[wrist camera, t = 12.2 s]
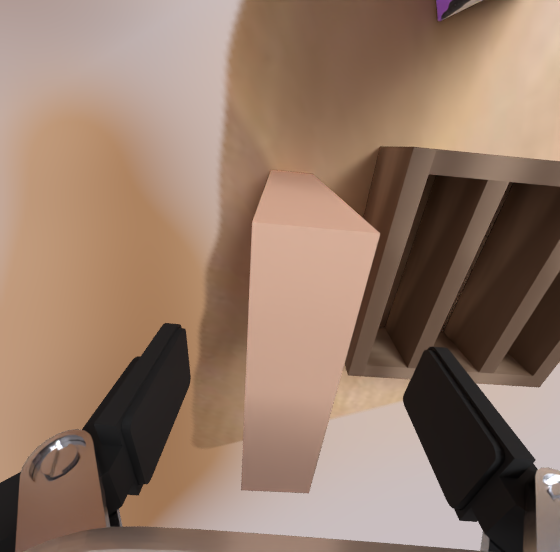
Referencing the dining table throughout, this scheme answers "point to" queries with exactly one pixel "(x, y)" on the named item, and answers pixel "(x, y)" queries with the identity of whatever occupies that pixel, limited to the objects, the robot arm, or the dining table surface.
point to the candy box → (452, 7)
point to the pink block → (298, 324)
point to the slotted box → (463, 267)
